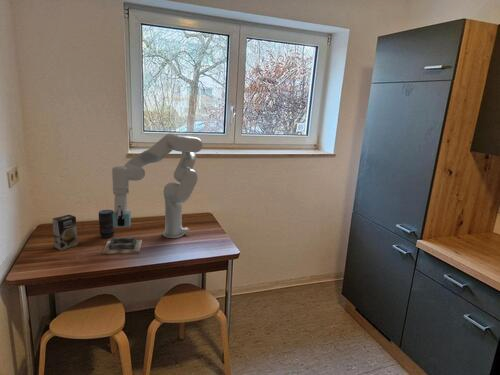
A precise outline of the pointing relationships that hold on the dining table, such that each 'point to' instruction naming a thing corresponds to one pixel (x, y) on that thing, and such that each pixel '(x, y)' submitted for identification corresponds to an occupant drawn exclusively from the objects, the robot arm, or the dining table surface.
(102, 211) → the camera lens
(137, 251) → the keyed nest
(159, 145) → the robot arm
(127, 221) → the key block
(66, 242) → the coffee box
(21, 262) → the dining table surface
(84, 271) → the dining table surface
